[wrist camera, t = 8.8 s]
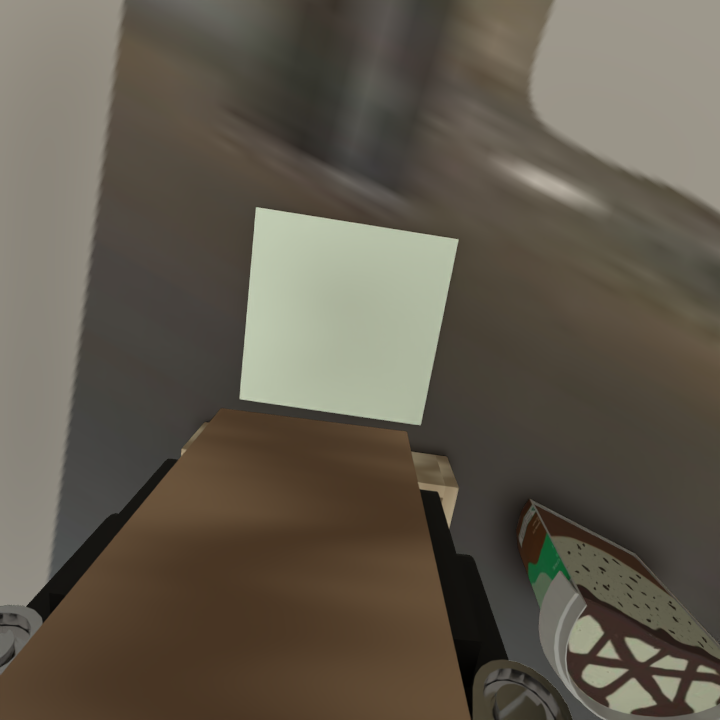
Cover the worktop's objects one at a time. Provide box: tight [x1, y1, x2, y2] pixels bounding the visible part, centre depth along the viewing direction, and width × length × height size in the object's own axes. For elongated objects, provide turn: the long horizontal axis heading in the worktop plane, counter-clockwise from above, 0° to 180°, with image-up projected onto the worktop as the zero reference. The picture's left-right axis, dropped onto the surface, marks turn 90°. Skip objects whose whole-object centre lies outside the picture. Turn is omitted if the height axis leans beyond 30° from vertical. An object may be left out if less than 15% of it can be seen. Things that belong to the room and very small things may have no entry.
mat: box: [240, 207, 459, 425], centre depth 28 cm, size 12×12×1 cm
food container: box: [516, 499, 720, 720], centre depth 28 cm, size 12×6×10 cm, turn 61°
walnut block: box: [0, 408, 471, 720], centre depth 8 cm, size 4×4×8 cm
